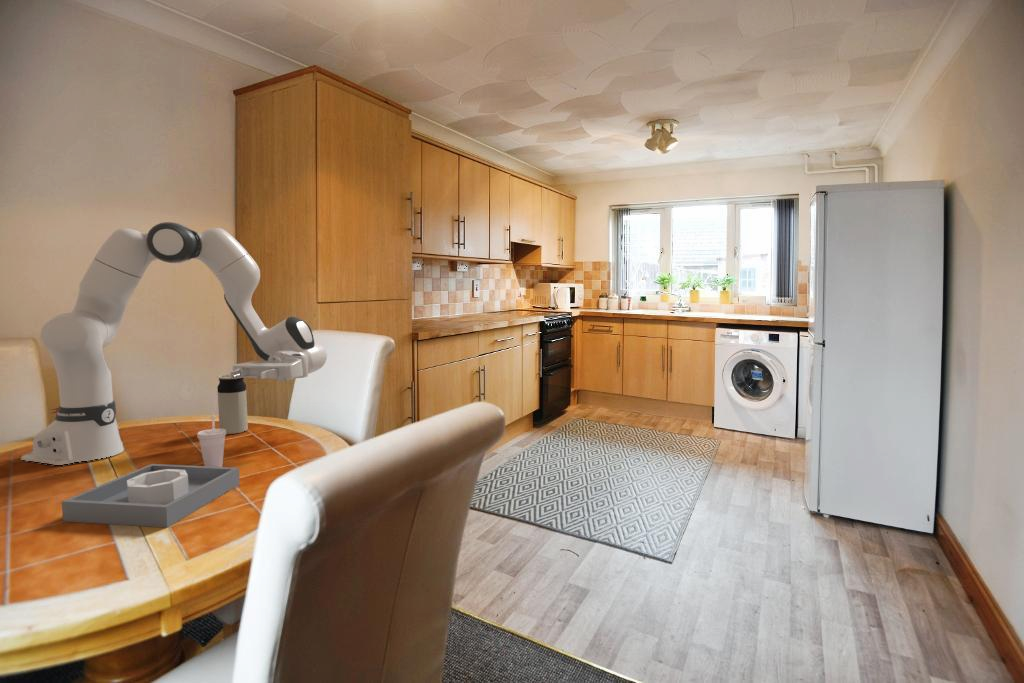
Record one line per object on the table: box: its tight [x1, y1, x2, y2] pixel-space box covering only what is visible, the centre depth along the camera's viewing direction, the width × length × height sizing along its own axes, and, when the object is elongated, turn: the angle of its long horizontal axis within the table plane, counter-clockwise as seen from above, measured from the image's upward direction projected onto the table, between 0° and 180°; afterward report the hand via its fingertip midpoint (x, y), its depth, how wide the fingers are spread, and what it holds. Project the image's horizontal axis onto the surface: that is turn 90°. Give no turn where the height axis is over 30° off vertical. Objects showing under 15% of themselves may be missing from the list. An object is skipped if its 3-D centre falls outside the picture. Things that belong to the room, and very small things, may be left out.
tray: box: [61, 463, 241, 528], centre depth 110 cm, size 22×22×5 cm
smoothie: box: [196, 414, 228, 467], centre depth 130 cm, size 6×6×14 cm
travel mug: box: [216, 373, 249, 435], centre depth 164 cm, size 8×8×18 cm
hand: (245, 375), depth 139 cm, fingers open, 8 cm apart
